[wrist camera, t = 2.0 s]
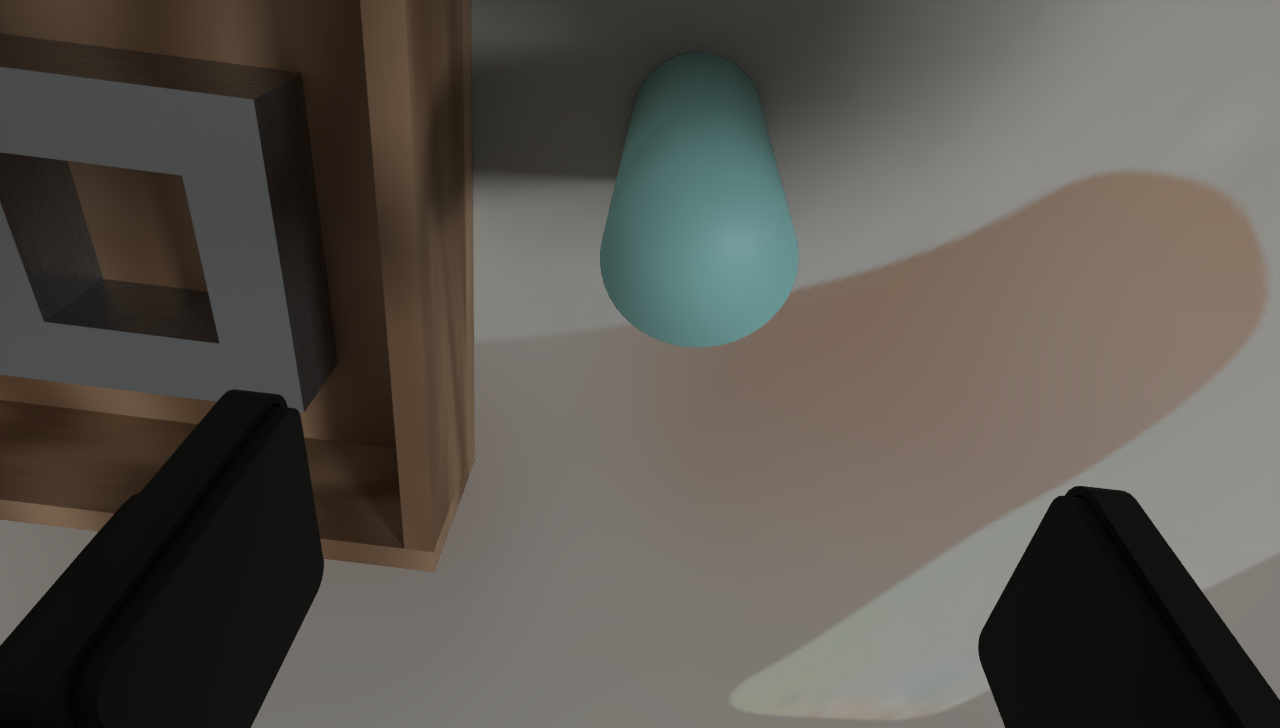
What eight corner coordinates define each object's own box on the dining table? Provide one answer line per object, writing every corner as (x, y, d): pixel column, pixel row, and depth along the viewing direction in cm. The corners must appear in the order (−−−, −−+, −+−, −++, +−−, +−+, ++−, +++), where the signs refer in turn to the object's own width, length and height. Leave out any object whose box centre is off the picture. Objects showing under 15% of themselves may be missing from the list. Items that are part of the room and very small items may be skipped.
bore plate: (302, 72, 23) (253, 99, 20) (338, 363, 29) (304, 412, 26) (-53, 26, 23) (-144, 48, 20) (55, 328, 29) (-6, 373, 26)
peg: (774, 62, 23) (819, 182, 15) (748, 190, 25) (775, 358, 17) (640, 44, 23) (609, 154, 15) (625, 174, 25) (592, 335, 17)
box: (469, -96, 21) (400, -79, 16) (474, 460, 32) (434, 572, 27) (-270, -194, 21) (-573, -209, 16) (-10, 400, 32) (-140, 502, 27)
